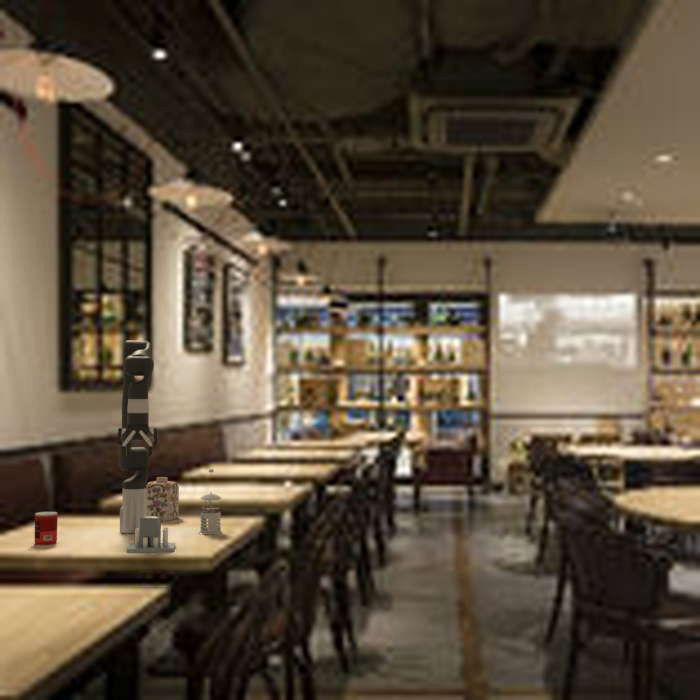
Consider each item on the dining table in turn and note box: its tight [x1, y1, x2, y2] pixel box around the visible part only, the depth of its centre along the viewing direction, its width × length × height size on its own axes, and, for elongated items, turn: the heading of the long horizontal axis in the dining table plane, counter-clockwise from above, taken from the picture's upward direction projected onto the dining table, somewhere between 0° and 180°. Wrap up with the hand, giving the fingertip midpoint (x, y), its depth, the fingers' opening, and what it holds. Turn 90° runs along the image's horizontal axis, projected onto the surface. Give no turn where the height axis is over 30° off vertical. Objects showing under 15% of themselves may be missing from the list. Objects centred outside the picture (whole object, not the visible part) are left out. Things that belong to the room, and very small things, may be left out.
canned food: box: [34, 511, 58, 546], centre depth 348 cm, size 8×8×11 cm
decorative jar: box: [146, 476, 180, 522], centre depth 412 cm, size 12×12×18 cm
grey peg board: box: [126, 526, 176, 553], centre depth 338 cm, size 16×12×7 cm
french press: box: [198, 468, 224, 535], centre depth 376 cm, size 10×12×25 cm
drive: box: [140, 516, 162, 547], centre depth 338 cm, size 6×5×10 cm
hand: (137, 456), depth 344 cm, fingers open, 8 cm apart
